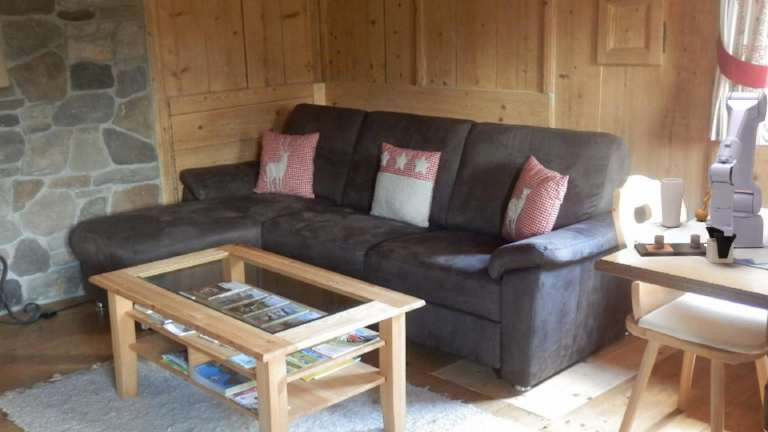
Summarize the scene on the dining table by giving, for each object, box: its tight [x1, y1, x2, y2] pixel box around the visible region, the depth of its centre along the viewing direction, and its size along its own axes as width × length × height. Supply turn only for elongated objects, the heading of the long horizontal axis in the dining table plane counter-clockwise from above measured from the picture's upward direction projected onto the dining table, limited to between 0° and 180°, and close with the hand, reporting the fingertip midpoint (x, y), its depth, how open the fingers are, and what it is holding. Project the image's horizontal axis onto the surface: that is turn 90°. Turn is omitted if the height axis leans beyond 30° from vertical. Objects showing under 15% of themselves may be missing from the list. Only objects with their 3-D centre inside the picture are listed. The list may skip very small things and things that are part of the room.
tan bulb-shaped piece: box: [694, 184, 711, 222], centre depth 275 cm, size 8×6×12 cm
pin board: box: [633, 233, 707, 257], centre depth 243 cm, size 22×10×4 cm, turn 84°
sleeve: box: [705, 237, 735, 264], centre depth 232 cm, size 6×6×6 cm
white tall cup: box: [660, 177, 684, 228], centre depth 270 cm, size 7×7×15 cm
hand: (719, 255), depth 232 cm, fingers closed on sleeve, 6 cm apart
